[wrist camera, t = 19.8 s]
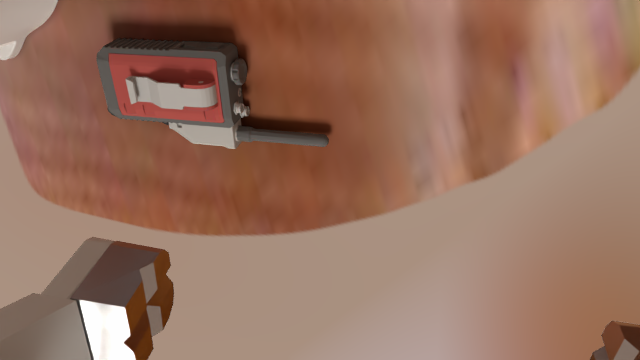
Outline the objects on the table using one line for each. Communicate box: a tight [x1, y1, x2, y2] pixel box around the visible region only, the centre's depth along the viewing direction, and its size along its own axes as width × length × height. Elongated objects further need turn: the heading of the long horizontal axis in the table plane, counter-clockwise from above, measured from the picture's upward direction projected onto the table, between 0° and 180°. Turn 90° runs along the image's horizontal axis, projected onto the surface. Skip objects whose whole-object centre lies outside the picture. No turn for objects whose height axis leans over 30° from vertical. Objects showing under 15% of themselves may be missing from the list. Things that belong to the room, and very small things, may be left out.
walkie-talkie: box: [97, 38, 329, 149], centre depth 46 cm, size 9×4×20 cm
